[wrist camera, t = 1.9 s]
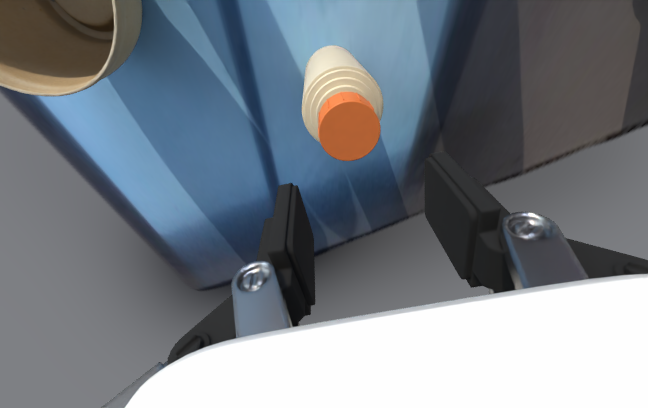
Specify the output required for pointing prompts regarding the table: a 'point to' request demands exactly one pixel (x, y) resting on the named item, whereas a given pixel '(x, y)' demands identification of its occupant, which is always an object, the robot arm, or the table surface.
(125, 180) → the table surface
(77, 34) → the planter bowl
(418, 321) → the robot arm
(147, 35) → the table surface
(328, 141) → the cap
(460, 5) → the table surface
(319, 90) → the bottle
